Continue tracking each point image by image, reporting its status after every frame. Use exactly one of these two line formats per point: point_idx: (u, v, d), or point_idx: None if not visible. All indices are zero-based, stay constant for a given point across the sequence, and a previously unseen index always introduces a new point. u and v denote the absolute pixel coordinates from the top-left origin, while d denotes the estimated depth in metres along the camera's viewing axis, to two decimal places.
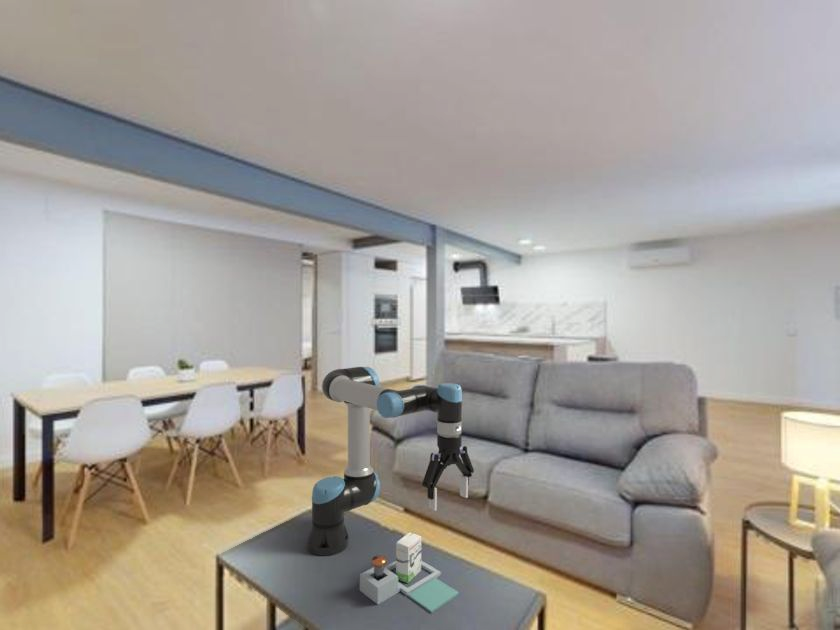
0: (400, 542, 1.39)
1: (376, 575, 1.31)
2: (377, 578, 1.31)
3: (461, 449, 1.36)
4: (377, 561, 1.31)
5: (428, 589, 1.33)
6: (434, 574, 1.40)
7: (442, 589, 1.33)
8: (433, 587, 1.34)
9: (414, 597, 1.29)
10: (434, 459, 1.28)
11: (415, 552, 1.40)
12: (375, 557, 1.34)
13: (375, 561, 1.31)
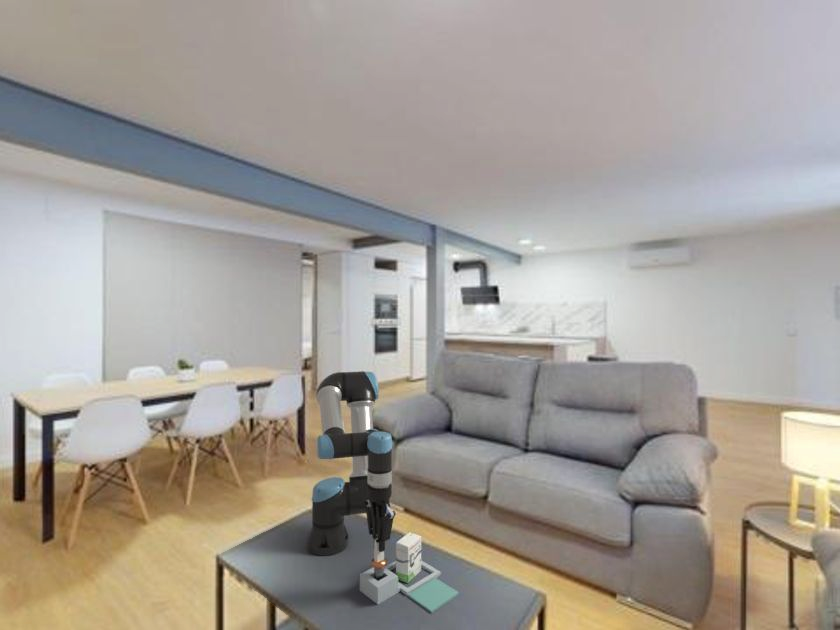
0: (400, 542, 1.39)
1: (376, 576, 1.31)
2: (377, 579, 1.31)
3: (387, 511, 1.29)
4: None
5: (428, 589, 1.33)
6: (434, 574, 1.40)
7: (442, 589, 1.33)
8: (433, 587, 1.34)
9: (414, 597, 1.29)
10: None
11: (415, 552, 1.40)
12: None
13: (375, 562, 1.31)
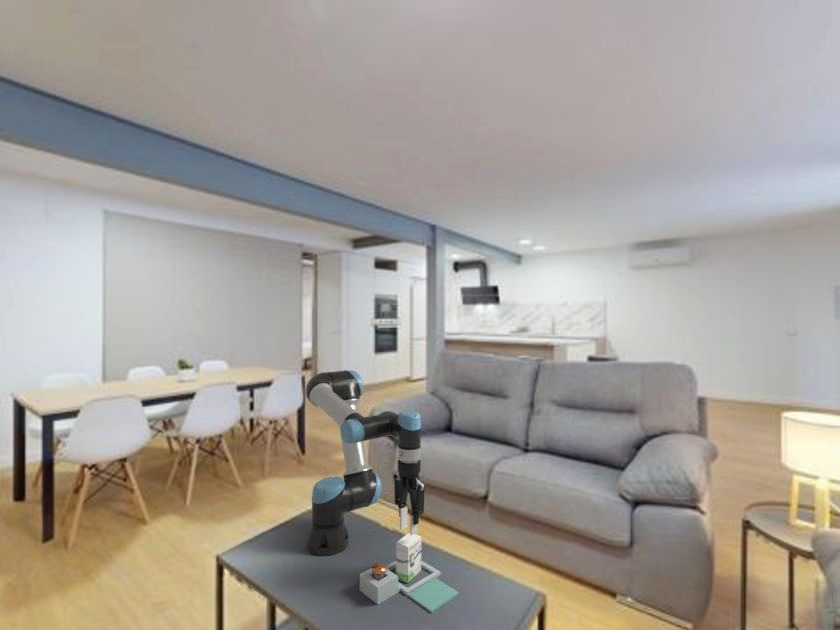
0: (400, 542, 1.39)
1: None
2: None
3: (418, 484, 1.37)
4: (377, 569, 1.31)
5: (428, 589, 1.33)
6: (434, 574, 1.40)
7: (442, 589, 1.33)
8: (433, 587, 1.34)
9: (414, 597, 1.29)
10: None
11: (415, 552, 1.40)
12: (375, 565, 1.34)
13: (375, 569, 1.31)
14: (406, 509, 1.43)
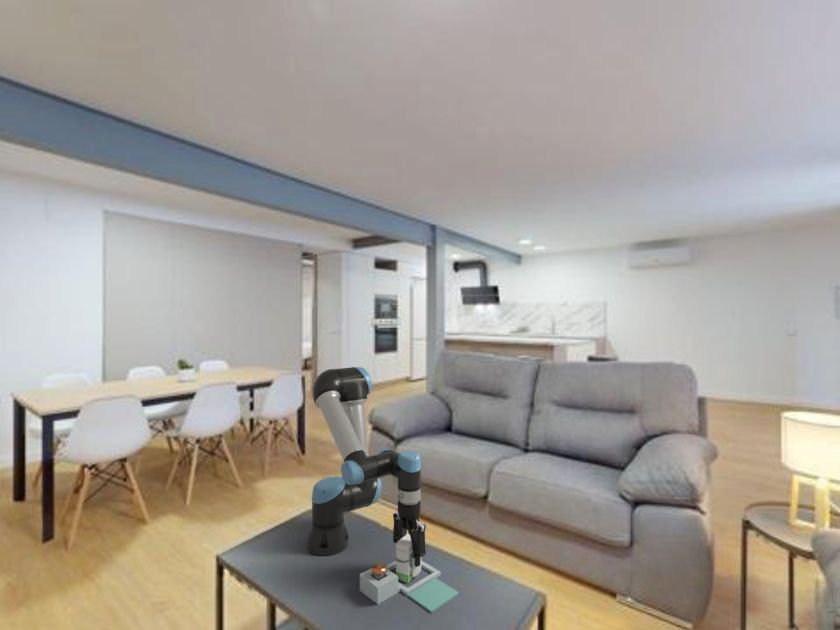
0: (400, 542, 1.39)
1: None
2: None
3: (418, 525, 1.37)
4: (377, 569, 1.31)
5: (428, 589, 1.33)
6: (434, 574, 1.40)
7: (442, 589, 1.33)
8: (433, 587, 1.34)
9: (414, 597, 1.29)
10: None
11: None
12: (375, 565, 1.34)
13: (375, 569, 1.31)
14: None
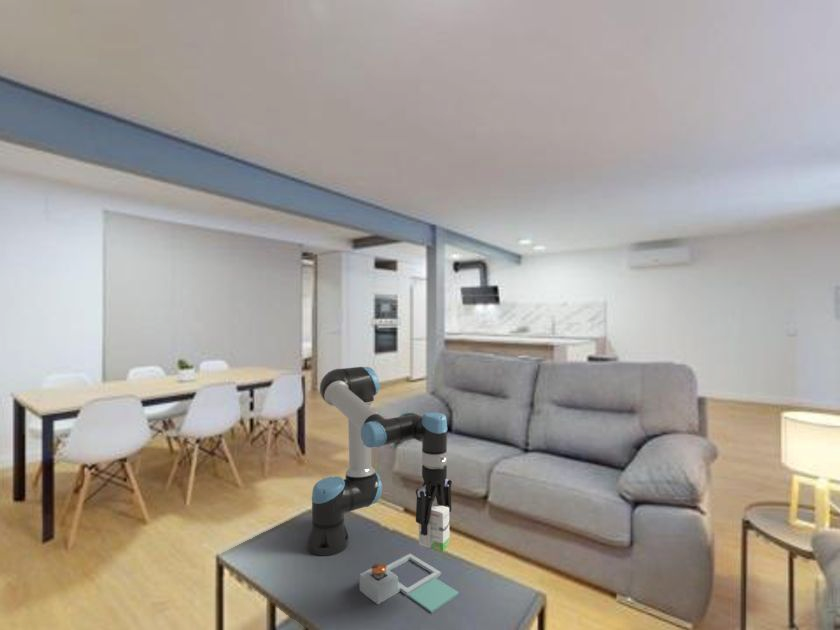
0: (441, 510, 1.28)
1: None
2: None
3: (446, 482, 1.34)
4: (377, 569, 1.31)
5: (428, 589, 1.33)
6: (434, 574, 1.40)
7: (442, 589, 1.33)
8: (433, 587, 1.34)
9: (414, 597, 1.29)
10: (420, 496, 1.26)
11: None
12: (375, 565, 1.34)
13: (375, 569, 1.31)
14: None
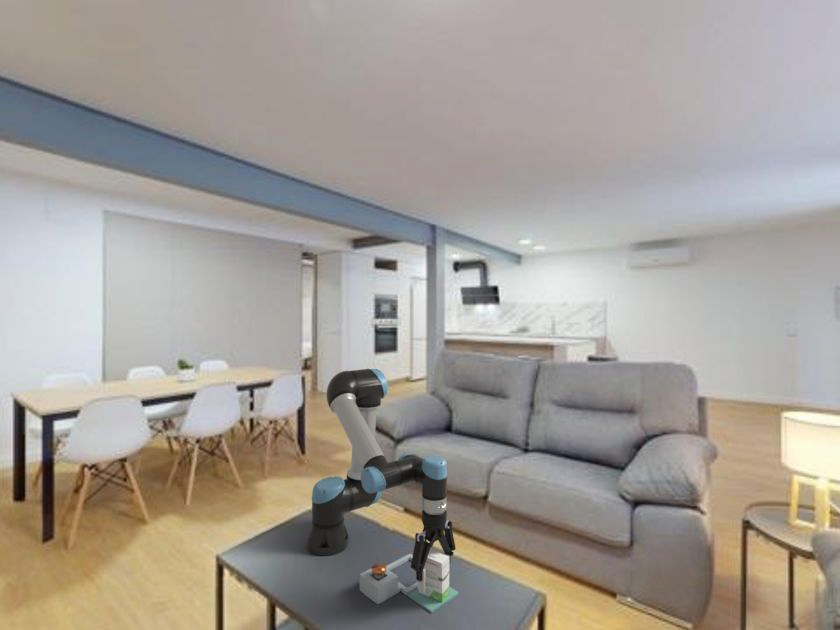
0: (440, 560, 1.28)
1: None
2: None
3: (446, 524, 1.34)
4: (377, 569, 1.31)
5: None
6: None
7: None
8: None
9: (414, 597, 1.29)
10: (419, 540, 1.26)
11: None
12: (375, 565, 1.34)
13: (375, 569, 1.31)
14: None
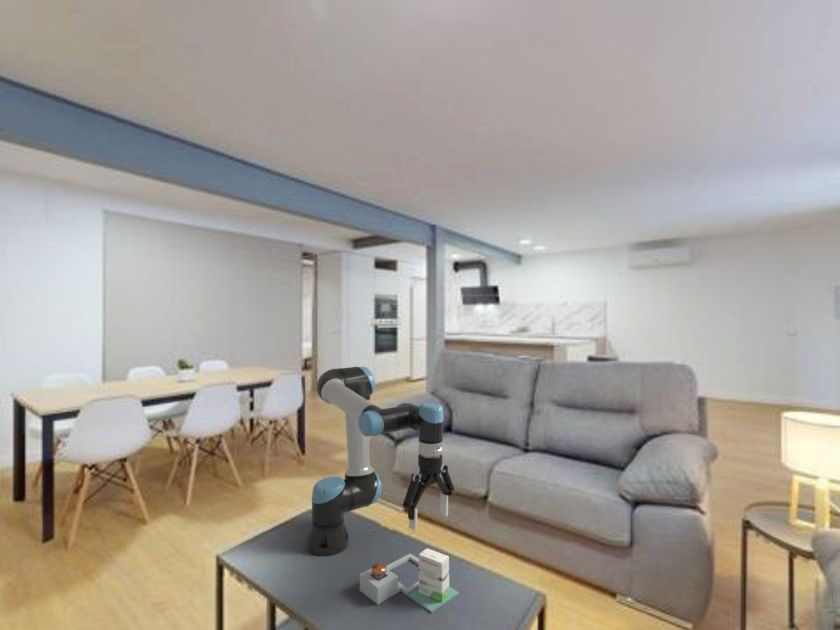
0: (440, 560, 1.28)
1: None
2: None
3: (442, 468, 1.37)
4: (377, 569, 1.31)
5: None
6: None
7: None
8: None
9: (414, 597, 1.29)
10: (414, 480, 1.28)
11: None
12: (375, 565, 1.34)
13: (375, 569, 1.31)
14: None
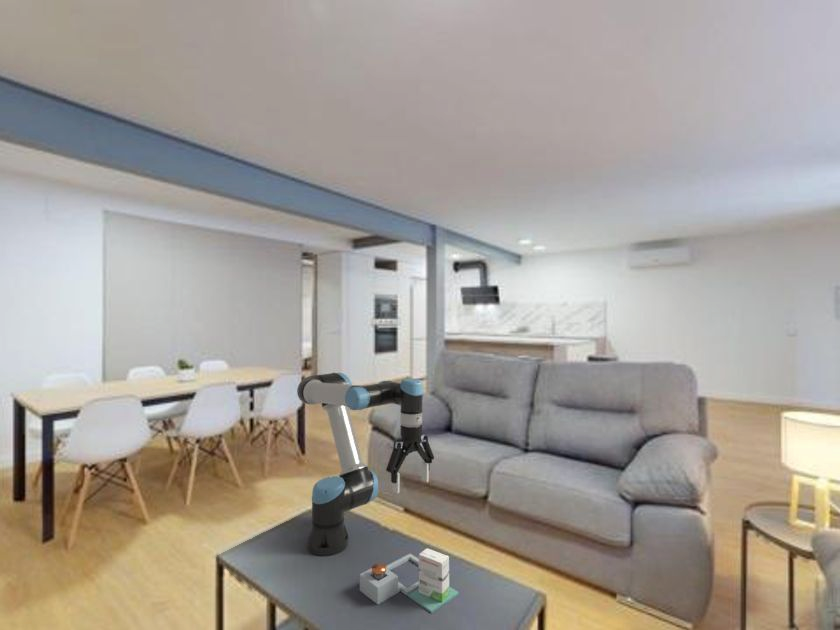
0: (440, 560, 1.28)
1: None
2: None
3: (422, 438, 1.50)
4: (377, 569, 1.31)
5: None
6: None
7: None
8: None
9: (414, 597, 1.29)
10: (397, 447, 1.42)
11: None
12: (375, 565, 1.34)
13: (375, 569, 1.31)
14: None
